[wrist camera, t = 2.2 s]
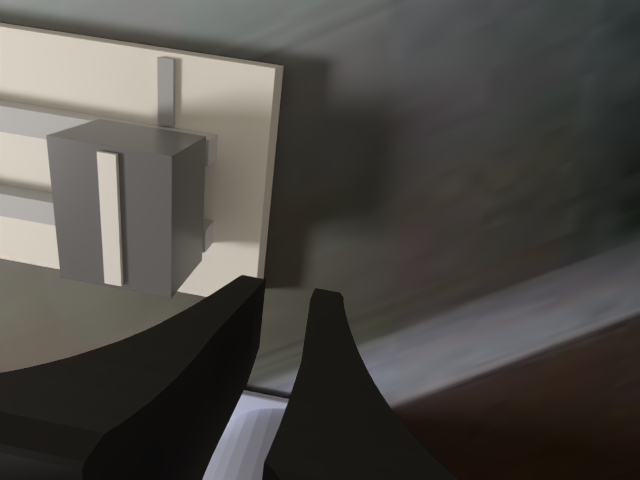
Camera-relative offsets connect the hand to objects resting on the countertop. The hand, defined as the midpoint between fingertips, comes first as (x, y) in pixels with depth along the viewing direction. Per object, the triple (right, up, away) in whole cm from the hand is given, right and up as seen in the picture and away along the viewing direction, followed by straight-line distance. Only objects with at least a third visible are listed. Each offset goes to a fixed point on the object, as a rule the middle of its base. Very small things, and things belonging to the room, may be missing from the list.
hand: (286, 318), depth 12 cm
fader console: (-12, +6, +9) cm, 16 cm away
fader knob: (-5, +4, +7) cm, 10 cm away
